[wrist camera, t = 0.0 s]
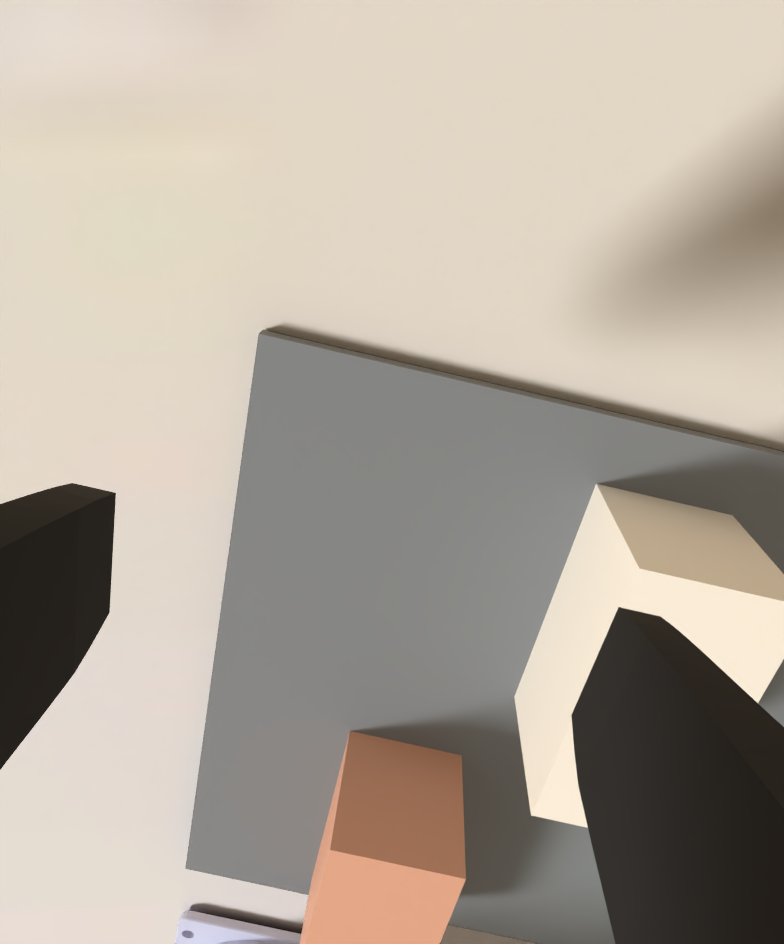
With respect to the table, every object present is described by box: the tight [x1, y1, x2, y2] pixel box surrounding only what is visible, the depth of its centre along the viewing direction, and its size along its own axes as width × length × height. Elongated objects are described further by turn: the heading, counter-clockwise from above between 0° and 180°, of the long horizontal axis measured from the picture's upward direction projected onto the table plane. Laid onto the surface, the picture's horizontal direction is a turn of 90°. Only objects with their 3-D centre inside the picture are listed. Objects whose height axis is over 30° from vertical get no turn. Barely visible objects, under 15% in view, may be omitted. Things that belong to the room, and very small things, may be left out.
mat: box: [186, 330, 784, 944], centre depth 23 cm, size 22×24×1 cm
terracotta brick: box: [300, 731, 466, 944], centre depth 23 cm, size 8×4×4 cm, turn 168°
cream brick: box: [514, 484, 784, 828], centre depth 18 cm, size 8×4×4 cm, turn 168°
